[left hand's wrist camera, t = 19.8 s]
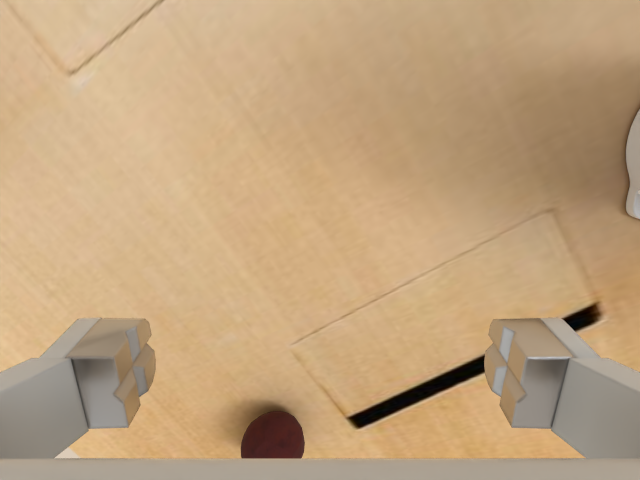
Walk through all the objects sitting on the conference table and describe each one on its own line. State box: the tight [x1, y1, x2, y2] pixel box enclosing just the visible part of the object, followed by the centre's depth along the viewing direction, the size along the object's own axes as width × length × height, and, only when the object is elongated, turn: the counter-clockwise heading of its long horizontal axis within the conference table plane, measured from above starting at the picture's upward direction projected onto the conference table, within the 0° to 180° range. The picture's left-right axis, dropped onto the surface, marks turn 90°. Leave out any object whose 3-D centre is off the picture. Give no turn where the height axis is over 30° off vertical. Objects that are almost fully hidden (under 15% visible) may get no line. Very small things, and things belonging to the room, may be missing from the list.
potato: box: [241, 411, 305, 459], centre depth 51 cm, size 7×8×7 cm
